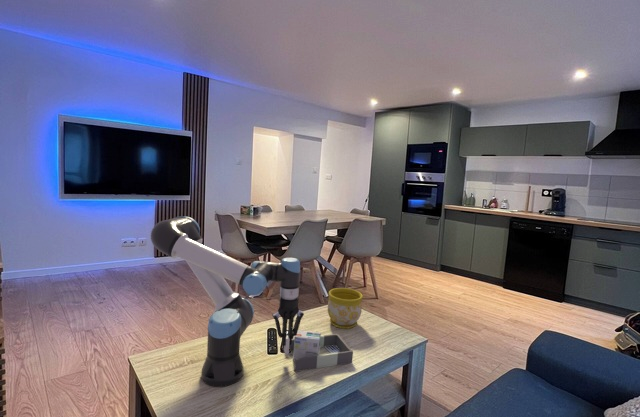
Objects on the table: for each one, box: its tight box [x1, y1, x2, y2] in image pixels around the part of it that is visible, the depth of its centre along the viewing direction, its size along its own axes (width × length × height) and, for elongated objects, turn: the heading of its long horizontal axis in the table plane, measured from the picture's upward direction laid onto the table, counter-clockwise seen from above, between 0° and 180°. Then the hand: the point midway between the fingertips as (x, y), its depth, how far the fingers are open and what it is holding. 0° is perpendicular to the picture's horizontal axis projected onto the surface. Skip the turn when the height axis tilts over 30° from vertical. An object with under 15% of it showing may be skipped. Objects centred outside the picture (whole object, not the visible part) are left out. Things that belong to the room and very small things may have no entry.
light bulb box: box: [292, 329, 322, 362], centre depth 139 cm, size 11×7×11 cm, turn 85°
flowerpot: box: [327, 287, 364, 330], centre depth 174 cm, size 18×18×16 cm
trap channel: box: [289, 333, 354, 372], centre depth 142 cm, size 25×16×5 cm, turn 111°
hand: (286, 352), depth 136 cm, fingers closed
